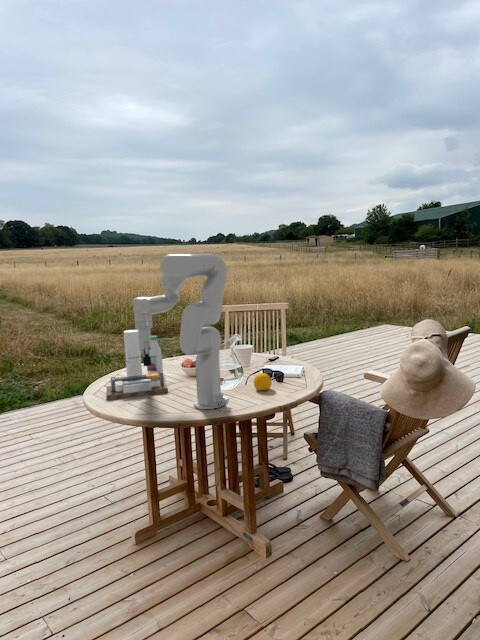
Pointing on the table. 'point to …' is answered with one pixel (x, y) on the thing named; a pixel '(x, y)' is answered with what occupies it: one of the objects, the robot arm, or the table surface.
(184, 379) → the table surface
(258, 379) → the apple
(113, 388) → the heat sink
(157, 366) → the milk bottle
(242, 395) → the table surface
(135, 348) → the cylindrical container
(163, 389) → the mounting board
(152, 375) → the lever
